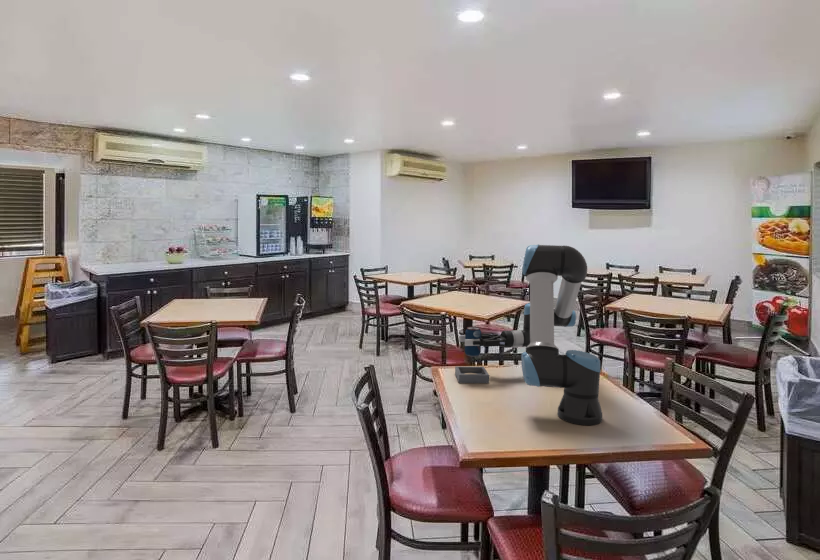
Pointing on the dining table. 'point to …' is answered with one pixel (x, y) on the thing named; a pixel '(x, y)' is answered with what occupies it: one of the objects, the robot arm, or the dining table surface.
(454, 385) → the dining table surface
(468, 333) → the soda can
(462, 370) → the drink tray
